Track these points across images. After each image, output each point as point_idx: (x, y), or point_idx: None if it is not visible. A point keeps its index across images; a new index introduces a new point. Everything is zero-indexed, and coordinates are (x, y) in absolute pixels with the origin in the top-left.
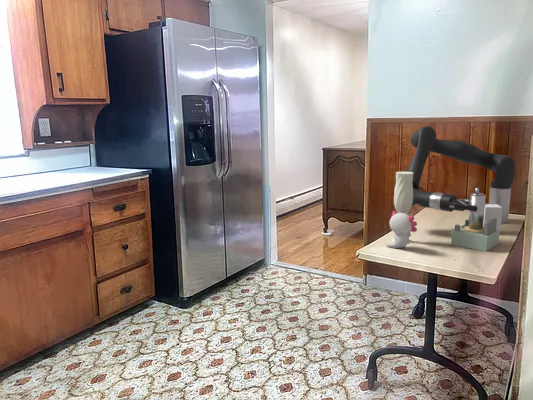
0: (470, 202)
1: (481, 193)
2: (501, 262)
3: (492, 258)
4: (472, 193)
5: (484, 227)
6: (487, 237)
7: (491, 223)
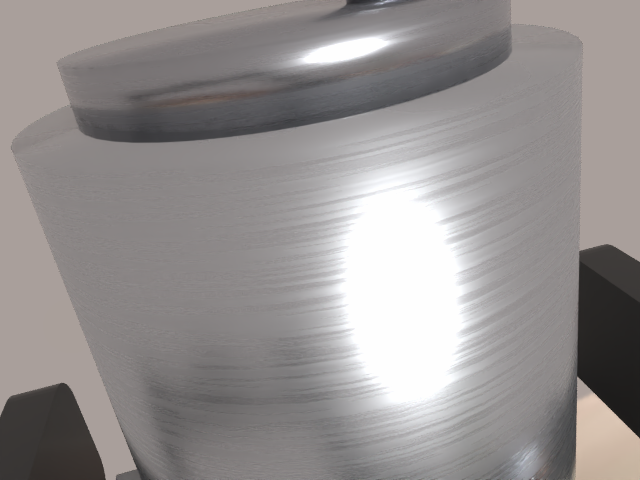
0: (564, 388)
1: (136, 39)
2: None
3: (630, 443)
4: (420, 12)
5: None
6: None
7: None
